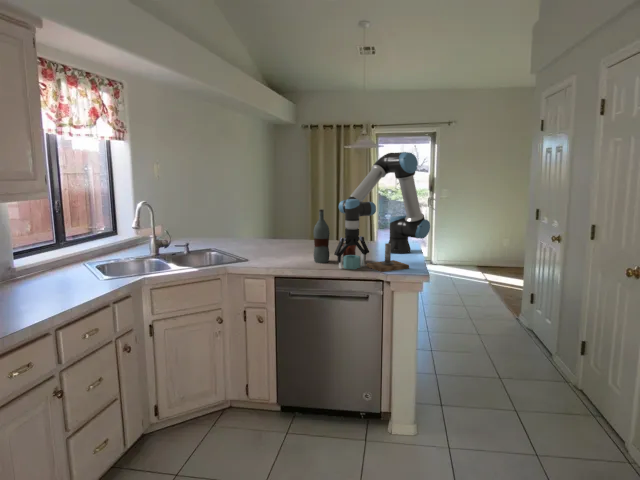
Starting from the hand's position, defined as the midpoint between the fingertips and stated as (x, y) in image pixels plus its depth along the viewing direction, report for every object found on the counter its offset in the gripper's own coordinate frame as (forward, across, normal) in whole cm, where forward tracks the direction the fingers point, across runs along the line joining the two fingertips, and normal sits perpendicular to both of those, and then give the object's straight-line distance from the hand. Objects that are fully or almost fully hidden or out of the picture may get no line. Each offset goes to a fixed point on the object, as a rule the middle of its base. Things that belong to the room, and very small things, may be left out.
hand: (351, 267), depth 245 cm
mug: (0, -6, -14) cm, 15 cm away
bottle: (0, +8, -21) cm, 22 cm away
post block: (0, -17, +9) cm, 19 cm away
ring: (0, 0, 0) cm, 0 cm away
